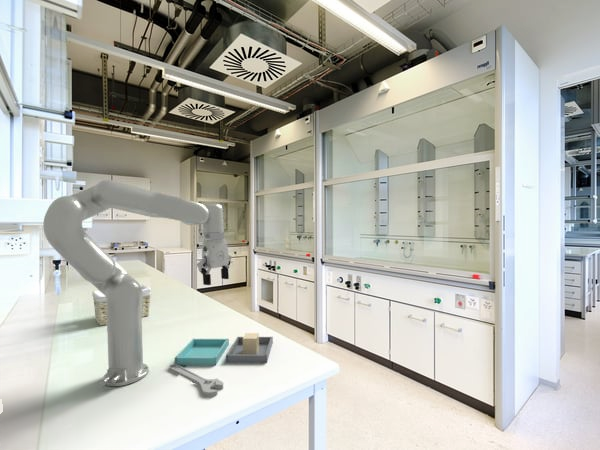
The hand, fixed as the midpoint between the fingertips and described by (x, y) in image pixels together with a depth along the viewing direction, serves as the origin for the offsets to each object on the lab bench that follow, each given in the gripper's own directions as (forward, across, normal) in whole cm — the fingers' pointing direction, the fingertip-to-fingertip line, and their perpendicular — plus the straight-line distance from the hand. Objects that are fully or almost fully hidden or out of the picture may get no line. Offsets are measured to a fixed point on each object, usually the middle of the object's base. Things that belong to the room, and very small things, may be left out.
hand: (216, 281), depth 114 cm
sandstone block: (+26, +2, -14) cm, 29 cm away
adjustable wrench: (+26, -20, -8) cm, 34 cm away
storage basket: (+25, +6, +69) cm, 74 cm away
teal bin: (+26, -8, +1) cm, 27 cm away
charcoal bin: (+26, +2, -14) cm, 30 cm away
